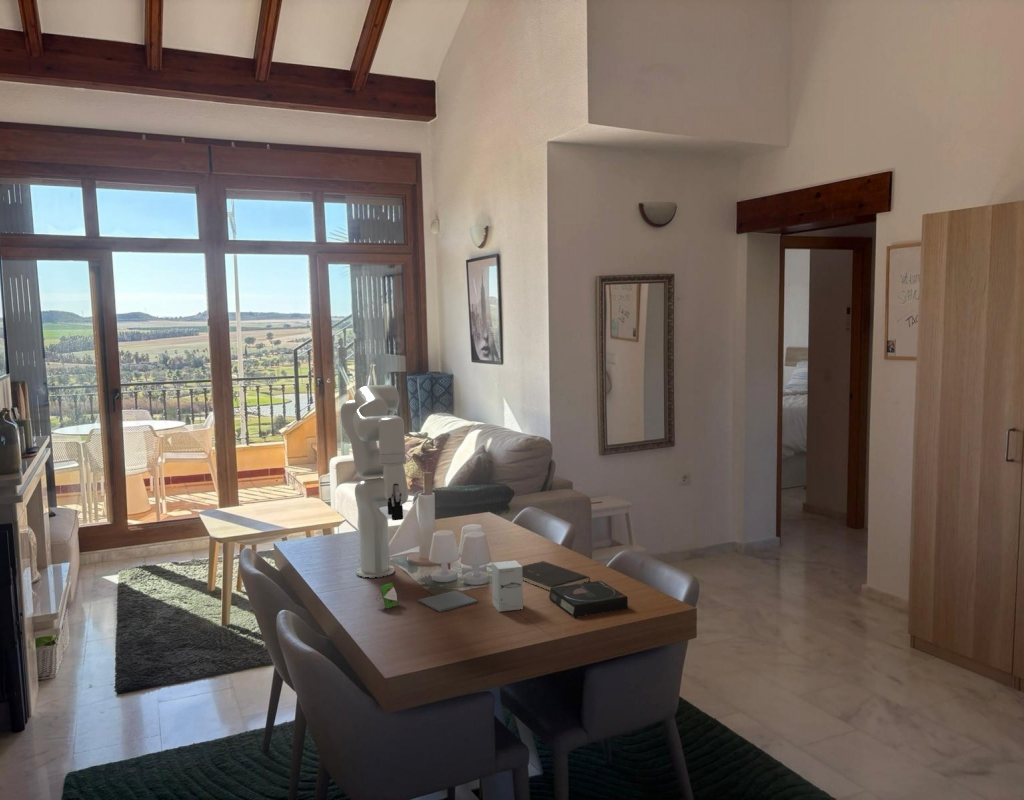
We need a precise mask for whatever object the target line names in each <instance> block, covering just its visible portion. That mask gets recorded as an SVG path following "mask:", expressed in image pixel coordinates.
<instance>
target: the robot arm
mask: <svg viewBox="0 0 1024 800" xmlns="http://www.w3.org/2000/svg"><path fill="white" fill-rule="evenodd" d="M399 404H400V394H399V391H398V389H397V388H396V387H395V386H393V384H374V385H373V384H372V385H364V386H362V387H359V388H358V389H357V390H356V391H355V393H354V398H353V399H350V400H347V401H345V402H344V403H342V404H341V408H340V419H341V423H342V426H343V429H344V431H345V433H346V435H347V437H348V439H349V441H350V444H351V449H352V457H353V463H354V469H355V471H356V472H355V473H356V474H357V476H358V477H359V478H361V479H363V480H360V481H359V482H358V483H357V484H356V485H355V487H354V497H355V501H356V507H357V516H358V531H359V536H358V538H359V557H360V558H359V559H358V561H359V563H360V567H357V569H356V571H355V575H357V576H358V575H359V576H358V577H360V576H362V577H361V578H365V577H369V579H375V577H377V578H383V576H384V577H388V576H391V575H392V574H394V572H395V567H394V566H393V565H390V545H389V543H390V542H389V522H388V521H389V520H388V517H387V516H386V514H385V513H384V512H383V511H381V508H384V507H387V514H388V516H391V520H392V521H398V520H399V521H401V520H403V519H404V511H403V510H404V508H403V505H404V504H406V503H407V501H408V500H409V486H408V481H407V477H406V471H405V466H404V465H405V464H406V463H407V462H406V461H407V460H406V441H405V438H406V437H405V420H404V419H403V418H402V417H400V416H399V415H395V414H396V412H397V410H398V408H399V406H400V405H399ZM377 442H378V443H377ZM378 444H379V445H378ZM387 575H388V576H387Z"/></svg>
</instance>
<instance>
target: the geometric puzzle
mask: <svg viewBox="0 0 1024 800" xmlns="http://www.w3.org/2000/svg"><path fill="white" fill-rule="evenodd" d="M394 586H395V585H394V583H393V582H390V583H386V584H382V585H380V586H379V588H380V592H378V593H379V594H378V595H380V594H381V595H382V599H383V602H382V601H381V600H379V599H381V597H380V598H378V597H376V598H375V600H378V603H382V604H383V605H384V607H385V606H386V607H385V609H386V608H387V609H389V608H388V607H390V608H392V607H391V606H394V605H397V606H399V601H398V600H400V599H399V598H400V597H397V595H398V594H399V593H403V591H402V590H401V592H400V589H399V588H398V586H396V587H397V590H399V592H396V589H395V588H396V587H394ZM384 603H385V604H384ZM382 604H381V605H382ZM383 605H382V606H383ZM394 607H395V606H394Z"/></svg>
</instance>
